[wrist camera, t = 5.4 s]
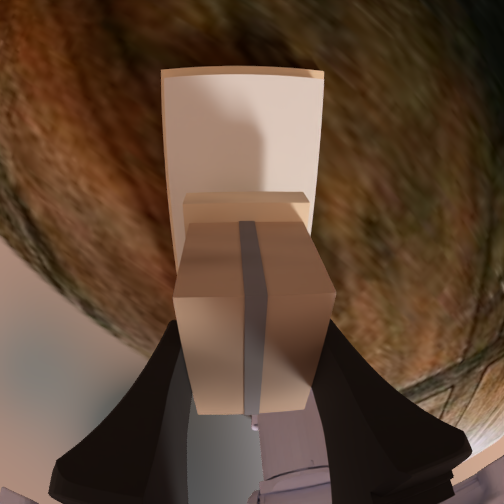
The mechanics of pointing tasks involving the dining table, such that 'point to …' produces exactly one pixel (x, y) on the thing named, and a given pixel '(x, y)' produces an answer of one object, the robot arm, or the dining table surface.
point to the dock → (239, 133)
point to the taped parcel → (250, 301)
